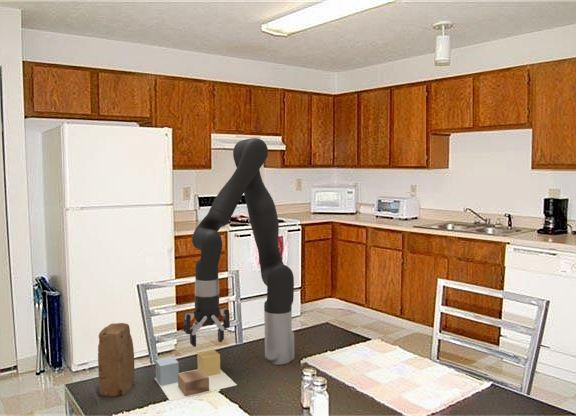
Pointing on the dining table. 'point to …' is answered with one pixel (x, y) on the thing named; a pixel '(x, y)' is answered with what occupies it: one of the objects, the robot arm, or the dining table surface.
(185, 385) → the base block
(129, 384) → the block
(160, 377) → the brick blue
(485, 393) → the dining table surface
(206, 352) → the brick ochre
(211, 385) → the board
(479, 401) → the dining table surface
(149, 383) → the dining table surface
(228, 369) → the dining table surface
